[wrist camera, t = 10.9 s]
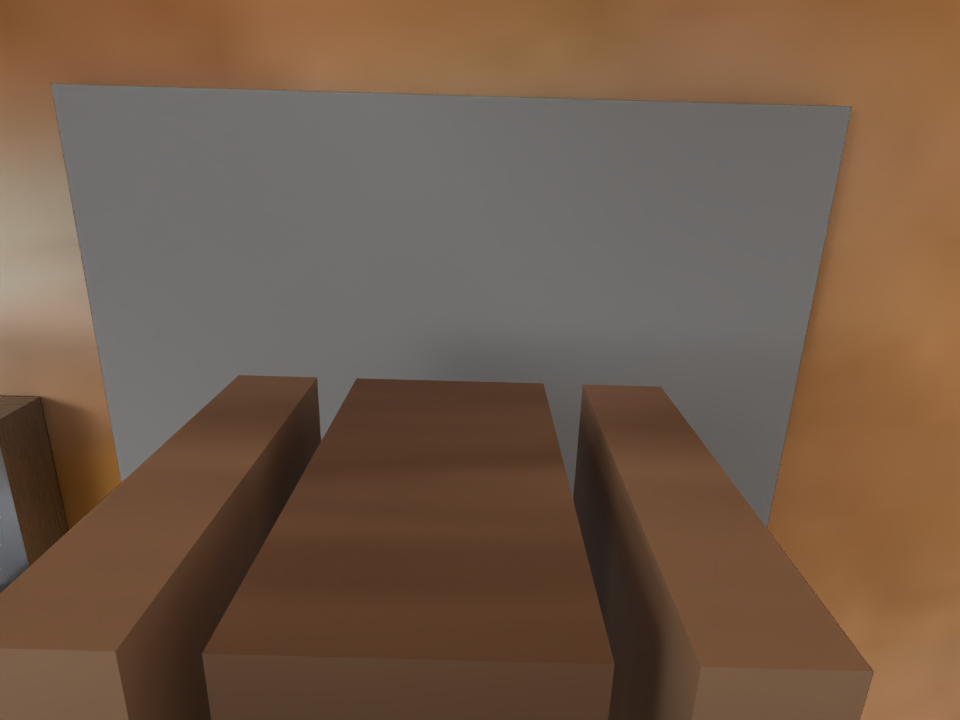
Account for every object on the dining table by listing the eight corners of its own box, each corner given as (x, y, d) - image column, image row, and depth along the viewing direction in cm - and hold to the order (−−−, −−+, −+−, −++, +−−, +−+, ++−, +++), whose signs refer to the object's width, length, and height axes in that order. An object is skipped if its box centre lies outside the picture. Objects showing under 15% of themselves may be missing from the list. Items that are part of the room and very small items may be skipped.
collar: (238, 375, 10) (-58, 646, 5) (661, 386, 10) (873, 672, 5) (272, 702, 13) (97, 1156, 7) (619, 711, 13) (731, 1172, 7)
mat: (69, 86, 13) (50, 83, 12) (835, 108, 13) (851, 106, 13) (170, 687, 18) (160, 704, 18) (721, 698, 18) (729, 716, 18)
